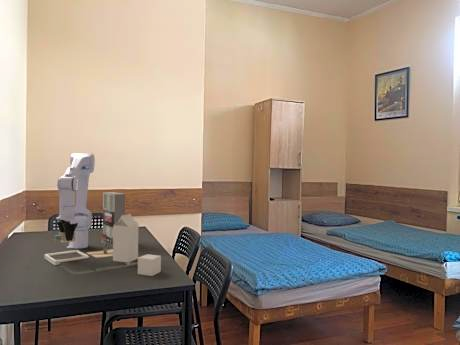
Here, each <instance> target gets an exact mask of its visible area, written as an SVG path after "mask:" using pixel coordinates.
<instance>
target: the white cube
mask: <svg viewBox="0 0 460 345" xmlns="http://www.w3.org/2000/svg"><path fill="white" fill-rule="evenodd" d="M161 269H162V255H159V254H158V255H157V254H149V253H147V254H144V255H141V256H138V259H137V275H142V276H148V277H149V276H151V277H153V276H155V275H157V274H159V273H160V272H161V271H162V270H161Z"/></svg>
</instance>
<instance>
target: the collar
mask: <svg viewBox="0 0 460 345" xmlns="http://www.w3.org/2000/svg"><path fill="white" fill-rule="evenodd" d="M54 241H55V242H60V243H62V244H64V243H69V242H75V233H74V235H73V239H72V240H70V241H66V237H65V232H60V231H59V232H58V234H57V235H54Z"/></svg>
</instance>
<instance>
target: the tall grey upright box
mask: <svg viewBox="0 0 460 345" xmlns="http://www.w3.org/2000/svg"><path fill="white" fill-rule="evenodd" d="M102 197H103V198H102V233H101V241H100V242H101V244H104V242H107V245H108V244H109V245H111V246H113V225H114V224H116V223H117V222H118V220H119V219H120V218H121V216H123V215H126V193H123V192H122V193H121V192H116V191H108V192H107V191H105V192H103V193H102Z"/></svg>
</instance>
